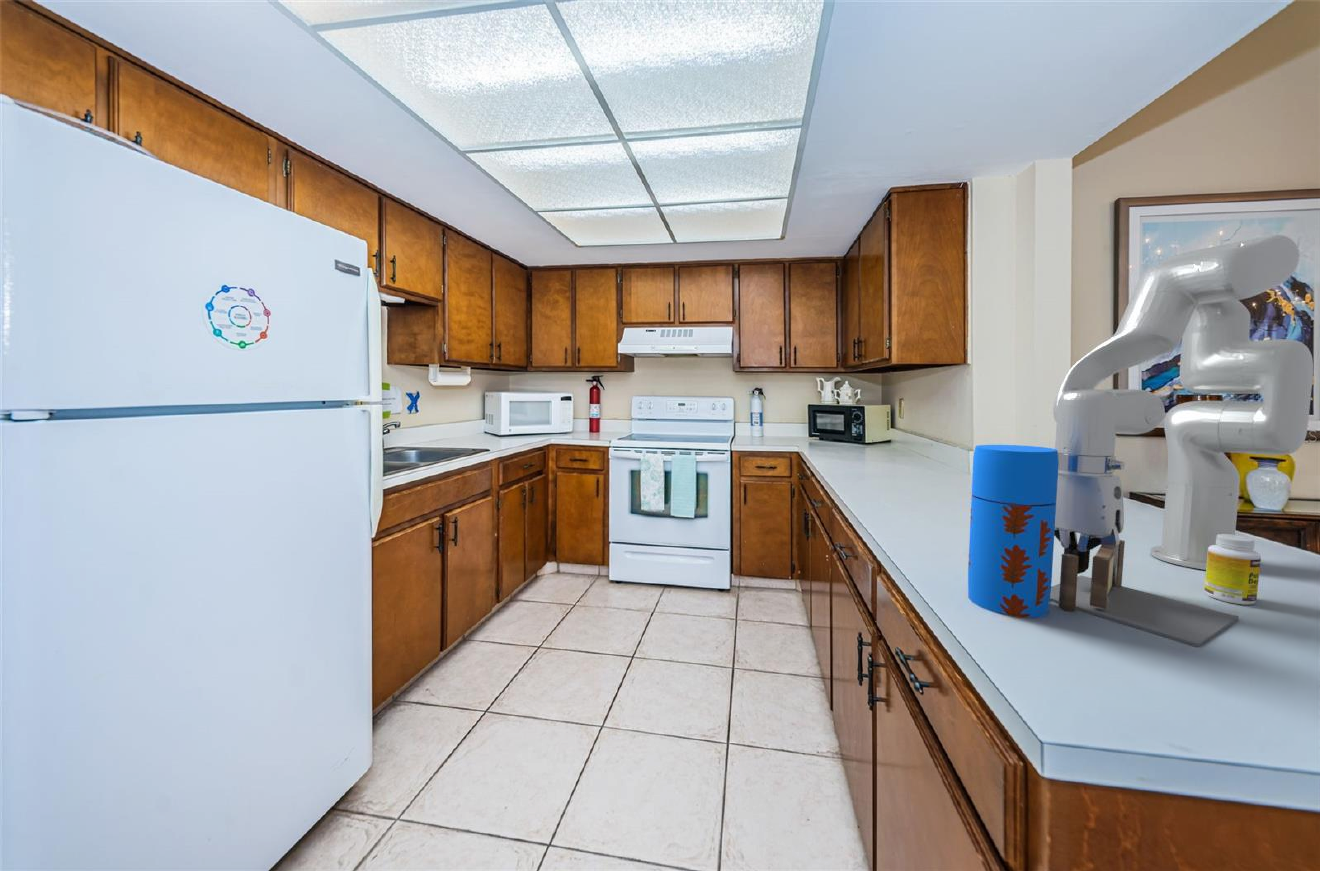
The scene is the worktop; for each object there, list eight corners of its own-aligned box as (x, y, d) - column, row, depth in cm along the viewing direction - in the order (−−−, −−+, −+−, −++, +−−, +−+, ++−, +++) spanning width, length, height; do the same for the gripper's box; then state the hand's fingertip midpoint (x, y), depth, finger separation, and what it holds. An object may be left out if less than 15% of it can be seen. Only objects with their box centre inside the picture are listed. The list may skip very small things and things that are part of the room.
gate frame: (1080, 577, 89) (1083, 532, 89) (1238, 619, 73) (1243, 563, 72) (1027, 598, 80) (1029, 548, 80) (1192, 650, 64) (1198, 588, 63)
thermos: (969, 585, 86) (975, 443, 84) (1046, 599, 80) (1056, 446, 78) (964, 607, 77) (972, 449, 75) (1051, 625, 71) (1062, 453, 69)
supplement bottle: (1253, 609, 76) (1259, 544, 75) (1200, 597, 80) (1205, 535, 80) (1259, 600, 79) (1265, 538, 78) (1207, 589, 84) (1213, 530, 83)
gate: (1100, 581, 84) (1103, 539, 84) (1116, 585, 83) (1119, 541, 82) (1088, 605, 75) (1092, 557, 75) (1106, 609, 74) (1109, 560, 73)
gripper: (1152, 469, 77) (1143, 582, 79) (1044, 458, 90) (1038, 555, 92) (1129, 472, 74) (1120, 591, 75) (1020, 460, 87) (1015, 561, 89)
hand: (1075, 571), depth 84 cm, fingers closed
